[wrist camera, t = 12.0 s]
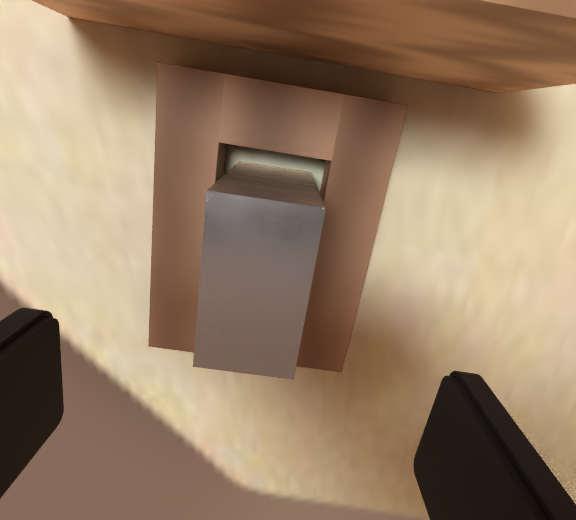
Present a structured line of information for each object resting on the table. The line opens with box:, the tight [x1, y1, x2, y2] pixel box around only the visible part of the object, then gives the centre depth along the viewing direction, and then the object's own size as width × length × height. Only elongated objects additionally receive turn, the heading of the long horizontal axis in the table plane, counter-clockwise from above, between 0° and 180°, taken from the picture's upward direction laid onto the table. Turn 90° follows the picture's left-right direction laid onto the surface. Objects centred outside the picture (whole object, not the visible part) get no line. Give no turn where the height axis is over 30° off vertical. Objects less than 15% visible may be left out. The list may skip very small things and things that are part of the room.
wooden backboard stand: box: [32, 0, 576, 372], centre depth 16 cm, size 22×18×12 cm
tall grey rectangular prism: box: [193, 161, 326, 379], centre depth 18 cm, size 4×7×9 cm, turn 171°
